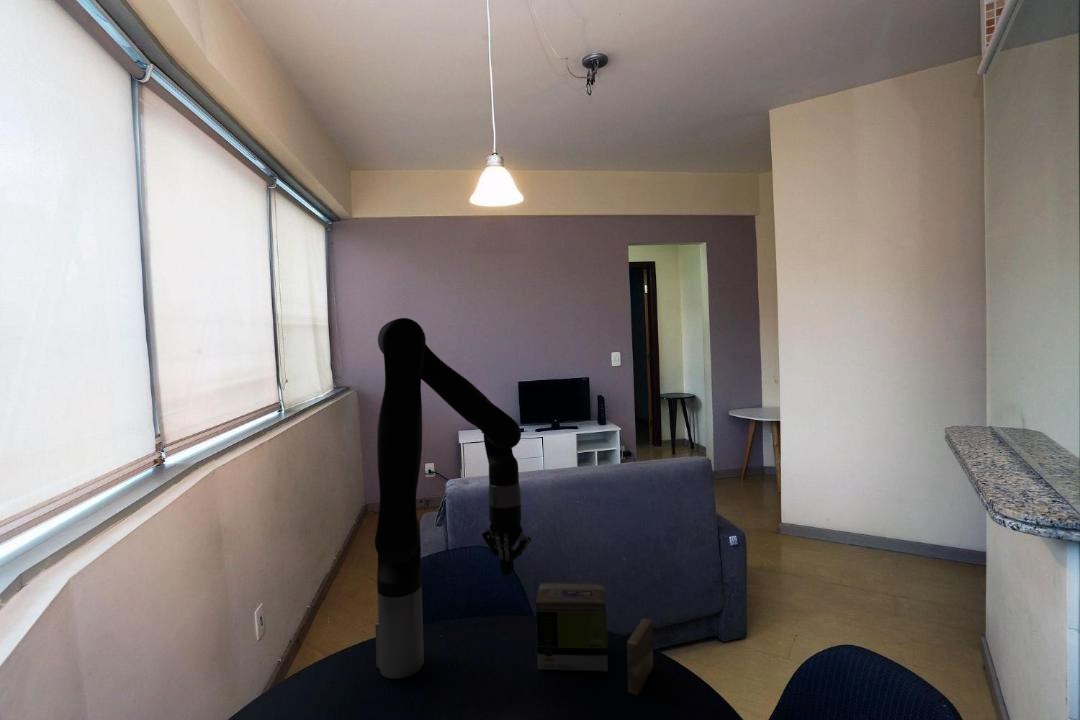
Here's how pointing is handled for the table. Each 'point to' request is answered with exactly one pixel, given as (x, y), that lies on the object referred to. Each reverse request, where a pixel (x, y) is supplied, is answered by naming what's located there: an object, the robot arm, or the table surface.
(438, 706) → the table surface
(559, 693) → the table surface
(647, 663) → the birch board
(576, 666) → the tea box
